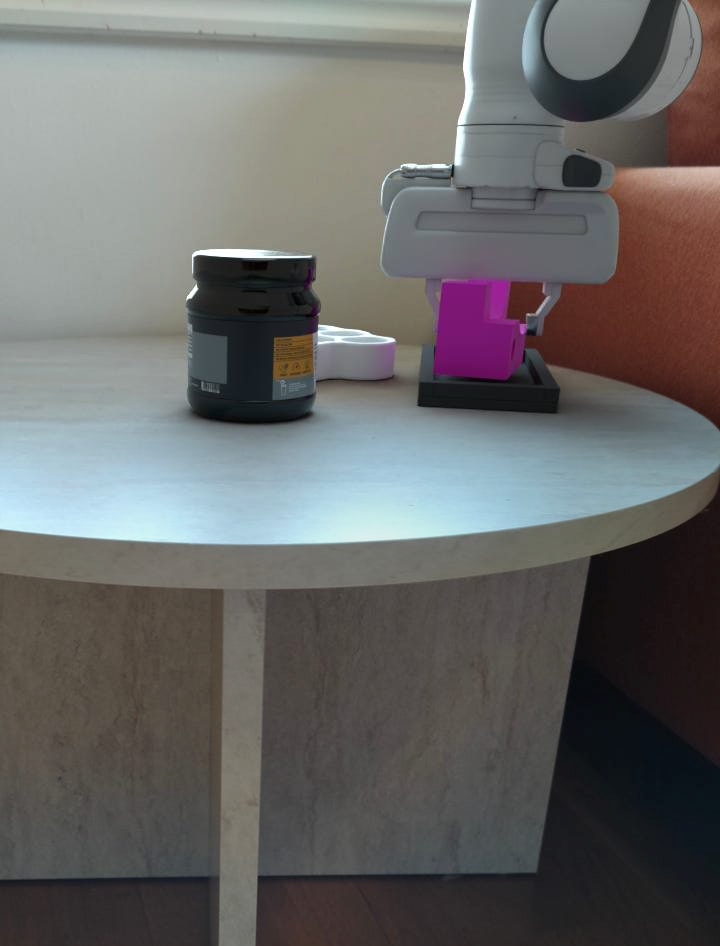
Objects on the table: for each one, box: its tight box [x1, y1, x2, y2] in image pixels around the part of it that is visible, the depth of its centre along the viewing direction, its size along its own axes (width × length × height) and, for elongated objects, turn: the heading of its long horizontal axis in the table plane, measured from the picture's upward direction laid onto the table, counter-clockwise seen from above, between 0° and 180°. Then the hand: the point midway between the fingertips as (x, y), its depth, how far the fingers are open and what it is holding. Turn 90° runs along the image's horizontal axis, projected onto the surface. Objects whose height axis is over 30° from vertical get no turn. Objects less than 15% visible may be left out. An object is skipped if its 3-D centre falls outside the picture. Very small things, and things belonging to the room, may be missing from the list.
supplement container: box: [185, 248, 322, 423], centre depth 80 cm, size 10×10×12 cm
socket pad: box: [416, 343, 561, 414], centre depth 94 cm, size 11×21×2 cm, turn 170°
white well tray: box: [316, 324, 397, 382], centre depth 101 cm, size 3×18×15 cm
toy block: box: [433, 280, 527, 380], centre depth 92 cm, size 15×6×8 cm, turn 159°
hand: (487, 333), depth 92 cm, fingers closed on toy block, 7 cm apart
